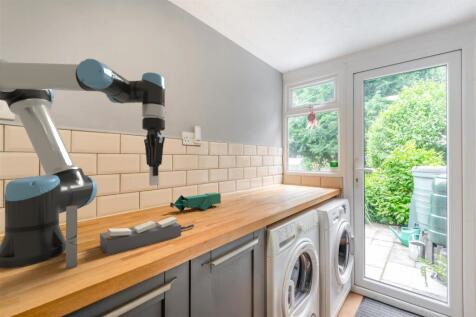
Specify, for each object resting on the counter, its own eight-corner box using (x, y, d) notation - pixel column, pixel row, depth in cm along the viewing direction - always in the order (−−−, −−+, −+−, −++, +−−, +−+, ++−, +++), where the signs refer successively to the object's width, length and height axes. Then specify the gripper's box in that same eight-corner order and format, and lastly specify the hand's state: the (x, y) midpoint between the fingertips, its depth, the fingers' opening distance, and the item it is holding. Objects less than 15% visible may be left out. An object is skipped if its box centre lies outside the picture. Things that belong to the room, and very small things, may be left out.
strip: (106, 255, 63) (106, 240, 63) (100, 245, 71) (100, 232, 71) (200, 230, 85) (200, 219, 85) (187, 225, 93) (187, 214, 93)
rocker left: (110, 235, 65) (111, 231, 65) (107, 232, 68) (108, 228, 68) (131, 234, 69) (132, 231, 69) (127, 231, 72) (128, 228, 72)
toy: (166, 194, 118) (212, 189, 138) (166, 212, 118) (212, 204, 137) (175, 197, 109) (223, 191, 128) (175, 216, 109) (223, 207, 128)
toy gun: (76, 201, 68) (77, 205, 57) (76, 253, 67) (77, 268, 55) (66, 202, 67) (66, 206, 55) (66, 255, 66) (65, 271, 54)
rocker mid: (138, 233, 70) (137, 229, 70) (134, 230, 73) (133, 227, 73) (156, 226, 74) (155, 222, 74) (151, 223, 77) (151, 220, 77)
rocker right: (162, 228, 76) (161, 224, 75) (157, 225, 78) (157, 222, 78) (177, 221, 80) (177, 218, 79) (172, 219, 82) (172, 216, 82)
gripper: (172, 117, 74) (172, 185, 74) (157, 122, 83) (157, 183, 83) (150, 114, 69) (150, 187, 68) (136, 120, 78) (136, 184, 78)
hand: (154, 185), depth 76 cm, fingers closed
